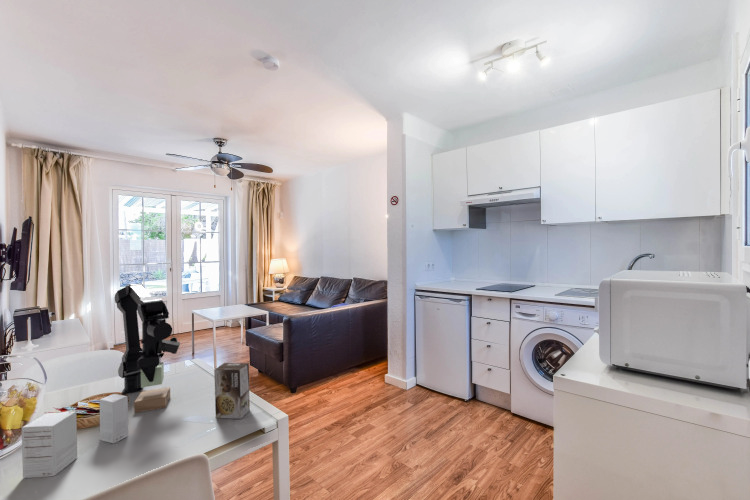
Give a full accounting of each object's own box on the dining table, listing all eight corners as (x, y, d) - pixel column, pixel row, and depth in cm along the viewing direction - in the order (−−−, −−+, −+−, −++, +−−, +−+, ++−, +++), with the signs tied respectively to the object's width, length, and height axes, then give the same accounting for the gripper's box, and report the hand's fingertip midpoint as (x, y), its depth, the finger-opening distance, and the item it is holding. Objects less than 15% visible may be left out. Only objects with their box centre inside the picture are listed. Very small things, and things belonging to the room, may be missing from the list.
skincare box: (129, 436, 98) (128, 395, 98) (113, 444, 94) (112, 402, 94) (115, 432, 100) (114, 393, 100) (99, 440, 96) (98, 399, 96)
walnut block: (141, 402, 120) (141, 391, 120) (170, 397, 124) (170, 387, 124) (134, 413, 112) (134, 402, 112) (165, 408, 115) (165, 397, 115)
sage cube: (144, 381, 119) (143, 364, 119) (163, 378, 122) (163, 362, 122) (141, 387, 114) (140, 370, 114) (161, 384, 117) (161, 367, 117)
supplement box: (48, 459, 87) (47, 412, 87) (78, 457, 88) (77, 410, 88) (21, 479, 80) (20, 427, 80) (54, 476, 81) (53, 425, 80)
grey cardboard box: (250, 409, 113) (249, 362, 113) (241, 419, 107) (240, 369, 107) (225, 408, 114) (224, 362, 114) (214, 418, 108) (213, 369, 107)
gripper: (175, 338, 113) (176, 383, 113) (180, 326, 130) (180, 366, 130) (136, 342, 108) (137, 390, 108) (146, 330, 125) (146, 371, 125)
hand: (152, 378), depth 118 cm, fingers closed on sage cube, 6 cm apart
